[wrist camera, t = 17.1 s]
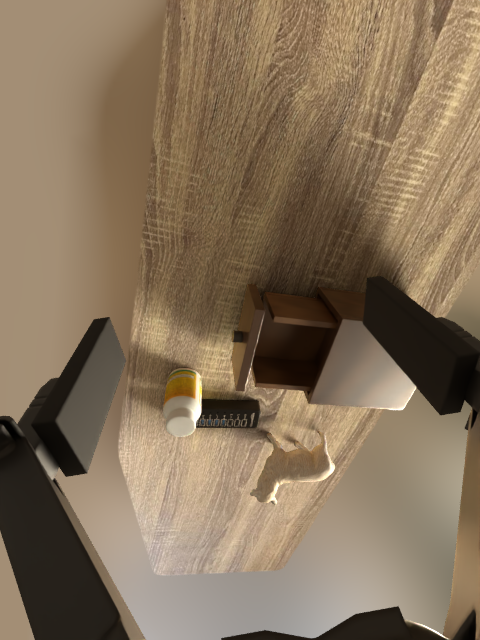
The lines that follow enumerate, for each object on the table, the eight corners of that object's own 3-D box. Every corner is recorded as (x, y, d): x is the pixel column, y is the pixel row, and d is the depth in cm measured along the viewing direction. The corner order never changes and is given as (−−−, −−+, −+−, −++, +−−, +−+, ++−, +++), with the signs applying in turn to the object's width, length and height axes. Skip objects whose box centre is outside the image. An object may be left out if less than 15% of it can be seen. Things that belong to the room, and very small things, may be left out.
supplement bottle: (208, 382, 51) (209, 429, 43) (181, 396, 52) (177, 446, 44) (188, 360, 48) (185, 407, 40) (160, 376, 49) (151, 425, 41)
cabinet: (292, 362, 51) (308, 404, 43) (318, 286, 44) (342, 318, 36) (373, 370, 53) (402, 410, 46) (409, 299, 47) (450, 331, 39)
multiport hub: (173, 398, 52) (172, 408, 50) (259, 400, 54) (261, 410, 52) (173, 417, 54) (171, 427, 52) (255, 418, 56) (257, 428, 54)
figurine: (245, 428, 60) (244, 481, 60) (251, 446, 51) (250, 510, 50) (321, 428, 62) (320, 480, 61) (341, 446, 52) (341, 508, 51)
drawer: (223, 356, 48) (226, 390, 41) (238, 282, 42) (245, 308, 35) (314, 365, 50) (330, 397, 44) (340, 295, 44) (363, 322, 38)
